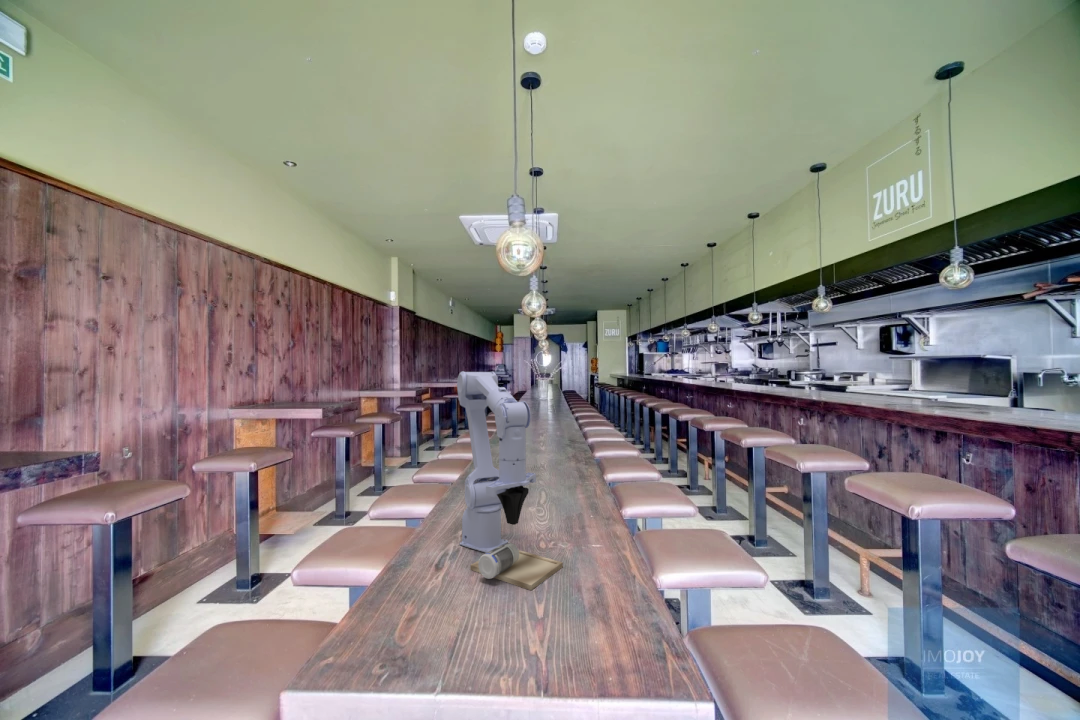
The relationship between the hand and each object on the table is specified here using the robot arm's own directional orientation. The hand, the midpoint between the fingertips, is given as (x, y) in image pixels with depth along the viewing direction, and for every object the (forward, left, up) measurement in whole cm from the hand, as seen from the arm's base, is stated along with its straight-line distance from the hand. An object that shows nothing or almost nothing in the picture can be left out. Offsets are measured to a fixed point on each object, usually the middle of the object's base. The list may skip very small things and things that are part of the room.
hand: (512, 523), depth 87 cm
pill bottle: (-1, -7, -7) cm, 10 cm away
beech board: (0, +2, -10) cm, 11 cm away
